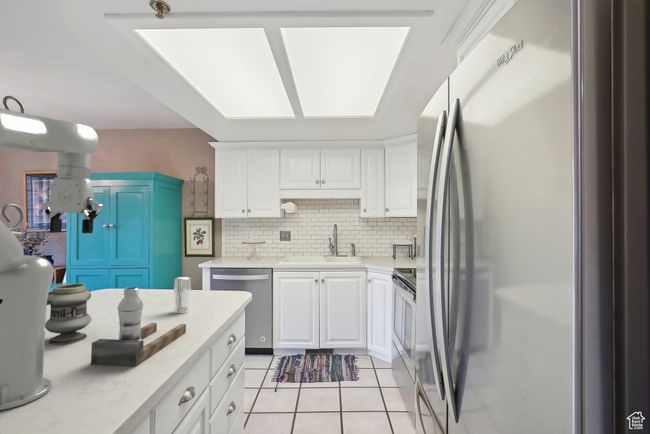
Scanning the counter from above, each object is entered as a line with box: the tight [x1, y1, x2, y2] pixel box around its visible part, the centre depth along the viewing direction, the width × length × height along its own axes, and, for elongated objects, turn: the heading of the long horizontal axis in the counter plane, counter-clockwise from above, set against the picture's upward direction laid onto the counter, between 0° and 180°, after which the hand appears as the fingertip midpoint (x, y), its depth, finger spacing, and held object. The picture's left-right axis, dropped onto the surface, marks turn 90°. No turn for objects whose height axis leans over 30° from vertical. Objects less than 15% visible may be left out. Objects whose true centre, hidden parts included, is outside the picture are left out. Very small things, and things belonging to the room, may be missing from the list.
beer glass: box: [173, 276, 192, 315], centre depth 143 cm, size 7×7×15 cm
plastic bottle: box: [117, 286, 144, 341], centre depth 95 cm, size 6×7×20 cm
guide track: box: [90, 322, 187, 367], centre depth 102 cm, size 28×13×6 cm, turn 177°
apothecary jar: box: [45, 282, 92, 346], centre depth 107 cm, size 12×12×18 cm
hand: (71, 232), depth 93 cm, fingers open, 9 cm apart
